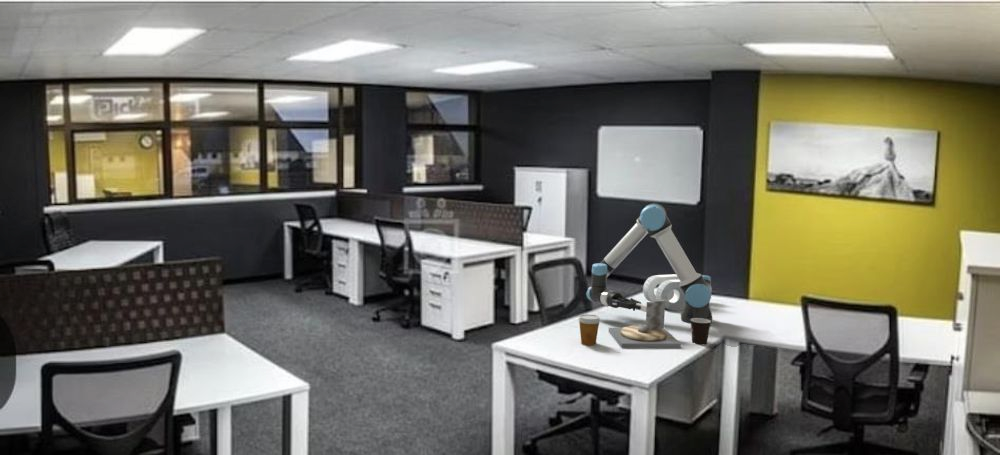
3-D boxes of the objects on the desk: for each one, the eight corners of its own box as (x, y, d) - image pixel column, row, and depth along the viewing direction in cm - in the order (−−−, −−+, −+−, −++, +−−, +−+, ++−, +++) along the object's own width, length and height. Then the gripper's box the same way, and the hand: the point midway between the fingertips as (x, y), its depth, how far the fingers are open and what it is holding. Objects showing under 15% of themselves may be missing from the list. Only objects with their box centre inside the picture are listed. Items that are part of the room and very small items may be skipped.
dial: (643, 343, 307) (644, 310, 305) (611, 332, 323) (612, 301, 321) (679, 336, 319) (680, 304, 317) (646, 326, 335) (647, 295, 333)
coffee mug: (706, 346, 312) (707, 324, 310) (686, 343, 316) (688, 321, 315) (713, 340, 321) (715, 318, 320) (694, 337, 326) (695, 315, 325)
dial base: (663, 331, 334) (663, 327, 334) (680, 347, 309) (681, 342, 308) (608, 331, 333) (608, 326, 332) (621, 348, 307) (621, 342, 307)
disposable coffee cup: (603, 343, 313) (604, 316, 312) (590, 347, 306) (591, 320, 305) (586, 339, 320) (586, 312, 318) (573, 343, 313) (573, 316, 311)
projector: (660, 310, 377) (661, 282, 375) (642, 302, 394) (643, 275, 393) (716, 306, 388) (718, 279, 386) (696, 299, 406) (698, 273, 404)
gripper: (621, 305, 351) (656, 315, 331) (601, 308, 344) (636, 318, 324) (622, 290, 350) (657, 299, 331) (602, 292, 343) (637, 302, 323)
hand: (647, 309), depth 327 cm, fingers closed
